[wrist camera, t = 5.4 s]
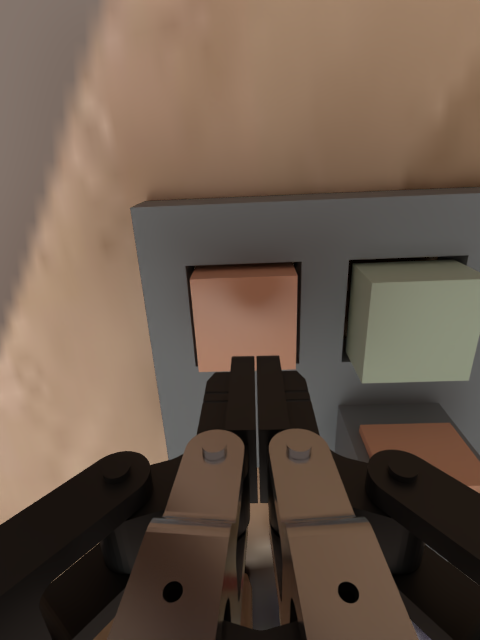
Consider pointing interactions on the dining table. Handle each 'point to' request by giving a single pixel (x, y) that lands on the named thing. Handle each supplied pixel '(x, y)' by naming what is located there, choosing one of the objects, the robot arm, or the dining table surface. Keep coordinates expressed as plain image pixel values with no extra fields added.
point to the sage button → (413, 321)
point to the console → (315, 310)
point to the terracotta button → (244, 313)
